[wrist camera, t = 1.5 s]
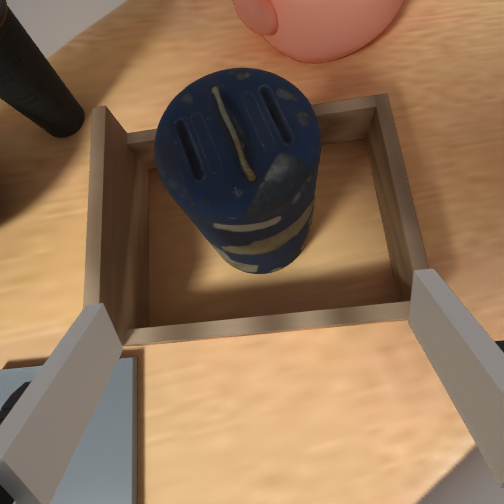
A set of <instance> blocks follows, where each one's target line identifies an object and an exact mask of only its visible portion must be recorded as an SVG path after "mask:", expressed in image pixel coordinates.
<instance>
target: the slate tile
mask: <svg viewBox="0 0 504 504" xmlns="http://www.w3.org/2000/svg"><path fill="white" fill-rule="evenodd" d="M41 368H42V366H34V367H23V368H13V369H2V370H0V411H1V407H2V406H3V405H4V403H5V402H6V401H7V399H8V398H9V397H10V395H11V394H12V393H13V392H15V391H16V390H17V389H18V388H19V387H20V386H21V385H23V384H24V383H25V382H30V381H32V380H33V379H34V377H35V376H36V375H37V373H38V372H39V370H40V369H41ZM13 504H17V503H16V502H15V501H14V503H13ZM50 504H137V357H130V358H119V360H118V362H117V364H116V366H115V368H114V370H113V372H112V374H111V376H110V379H109V381H108V383H107V385H106V387H105V389H104V391H103V393H102V395H101V397H100V400H99V402H98V404H97V406H96V408H95V410H94V412H93V414H92V416H91V418H90V420H89V423H88V425H87V427H86V429H85V431H84V433H83V435H82V437H81V439H80V441H79V444H78V446H77V448H76V450H75V452H74V454H73V456H72V458H71V460H70V462H69V465H68V467H67V469H66V471H65V473H64V475H63V477H62V479H61V481H60V483H59V485H58V488H57V490H56V492H55V494H54V496H53V498H52V500H51V502H50Z"/></svg>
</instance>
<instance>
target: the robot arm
mask: <svg viewBox="0 0 504 504" xmlns="http://www.w3.org/2000/svg"><path fill="white" fill-rule="evenodd" d="M408 323H409V325H410V327H411V329H412V330H413V332H414V334H415V336H416V338H417V339H418V341H419V343H420V345H421V346H422V348H423V350H424V352H425V354H426V355H427V357H428V359H429V361H430V362H431V364H432V366H433V368H434V370H435V371H436V373H437V375H438V377H439V378H440V380H441V382H442V384H443V386H444V387H445V389H446V391H447V393H448V395H449V396H450V398H451V400H452V402H453V403H454V405H455V407H456V409H457V411H458V412H459V414H460V416H461V418H462V419H463V421H464V423H465V425H466V427H467V428H468V430H469V432H470V434H471V435H472V437H473V439H474V441H475V443H476V444H477V446H478V448H479V450H480V451H481V453H482V455H483V457H484V459H485V460H486V462H487V464H488V466H489V467H490V469H491V471H492V473H493V475H494V476H495V478H496V480H497V481H498V483H499V485H500V487H501V488H504V341H493V339H492V338H491V337H490V336H489V335H488V333H487V332H486V331H485V330H484V329H483V327H482V326H481V325H480V324H479V323H478V321H477V320H476V319H475V318H474V317H473V315H472V314H471V313H470V312H469V311H468V309H467V308H466V307H465V306H464V304H463V303H462V302H461V301H460V300H459V298H458V297H457V296H456V295H455V294H454V292H453V291H452V290H451V289H450V288H449V286H448V285H447V284H446V283H445V282H444V280H443V279H442V278H441V277H440V276H439V274H438V273H437V272H436V271H435V270H434V268H433V269H423V270H414V273H413V283H412V292H411V302H410V312H409V321H408ZM122 351H123V347H122V344H121V342H120V340H119V338H118V335H117V333H116V331H115V329H114V326H113V324H112V322H111V320H110V318H109V315H108V313H107V311H106V309H105V306H104V304H103V303H99V304H90V305H86V306H85V308H84V309H83V310H82V312H81V313H80V315H79V316H78V317H77V319H76V320H75V322H74V323H73V324H72V326H71V327H70V328H69V330H68V331H67V333H66V334H65V335H64V337H63V338H62V340H61V341H60V342H59V344H58V345H57V347H56V348H55V349H54V351H53V352H52V354H51V355H50V356H49V358H48V359H47V361H46V362H45V363H44V365H43V366H42V368H41V369H40V370H39V372H38V373H37V375H36V376H35V377H34V379H33V380H32V381H30V382H25V383H24V384H23V385H21V386H20V387H19V388H18V389H17V390H16V391H15V392H13V393H12V394H11V395H10V397H9V398H8V399H7V401H6V402H5V403H4V405H3V406H2V407H1V411H0V504H13V503H14V501H15V502H16V503H17V504H50V502H51V500H52V498H53V496H54V494H55V492H56V490H57V488H58V485H59V483H60V481H61V479H62V477H63V475H64V473H65V471H66V469H67V467H68V465H69V462H70V460H71V458H72V456H73V454H74V452H75V450H76V448H77V446H78V444H79V441H80V439H81V437H82V435H83V433H84V431H85V429H86V427H87V425H88V423H89V420H90V418H91V416H92V414H93V412H94V410H95V408H96V406H97V404H98V402H99V400H100V397H101V395H102V393H103V391H104V389H105V387H106V385H107V383H108V381H109V379H110V376H111V374H112V372H113V370H114V368H115V366H116V364H117V362H118V360H119V358H120V355H121V353H122Z"/></svg>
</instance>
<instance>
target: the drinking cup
mask: <svg viewBox="0 0 504 504" xmlns="http://www.w3.org/2000/svg"><path fill="white" fill-rule="evenodd" d="M0 98H1V99H2V100H4V101H5V102H6V103H8V104H9V105H11V106H12V107H13V108H15V109H16V110H18V111H19V112H20V113H22V114H23V115H25V116H26V117H27V118H29V119H30V120H32V121H33V122H34V123H36V124H37V125H39V126H40V127H41V128H43V129H44V130H46V131H47V132H49V133H50V134H51V135H53V136H55V137H60V138H63V137H68V136H70V135H72V134H74V133H75V132H77V131H78V130H79V129H80V127H81V126H82V124H83V121H84V111H83V109H82V108H81V106H80V105H79V104H78V102H77V101H76V99H75V98H74V97H73V95H72V94H71V93H70V91H69V90H68V88H67V87H66V86H65V84H64V83H63V82H62V80H61V79H60V77H59V76H58V75H57V73H56V72H55V70H54V69H53V68H52V66H51V65H50V64H49V62H48V61H47V59H46V58H45V57H44V55H43V54H42V53H41V51H40V50H39V48H38V47H37V46H36V44H35V43H34V42H33V40H32V39H31V37H30V36H29V35H28V33H27V32H26V31H25V29H24V28H23V27H22V25H21V24H20V22H19V21H18V19H17V18H16V17H15V15H14V14H13V13H12V11H11V10H10V9H9V7H8V6H7V2H6V0H0Z"/></svg>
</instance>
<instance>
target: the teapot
mask: <svg viewBox="0 0 504 504" xmlns="http://www.w3.org/2000/svg"><path fill="white" fill-rule="evenodd" d="M233 2H234V5H235V8H236V11H237V14H238V15H239V17H240V19H241V20H242V21H243V23H244V24H245V25H246V26H247V27H248V28H250V29H251V30H253V31H254V32H256V33H258V34H261V35H262V36H263V37H264V38H265V39H266V40H267V41H268V42H269V43H270V44H271V45H272V46H274V47H275V48H276V49H278V50H279V51H280V52H282V53H283V54H285V55H287V56H288V57H290V58H292V59H294V60H297V61H300V62H305V63H323V62H329V61H332V60H336V59H339V58H341V57H344V56H346V55H348V54H350V53H353V52H354V51H356V50H358V49H360V48H361V47H363V46H364V45H366V44H368V43H369V42H370V41H372V40H373V39H374V38H375V37H377V36H378V35H379V34H380V33H381V32H382V31H383V30H384V29H385V28H386V27H387V26H388V25H389V23H390V22H391V21H392V20H393V18H394V17H395V15H396V13H397V12H398V10H399V9H400V6H401V4H402V2H403V0H233Z"/></svg>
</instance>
